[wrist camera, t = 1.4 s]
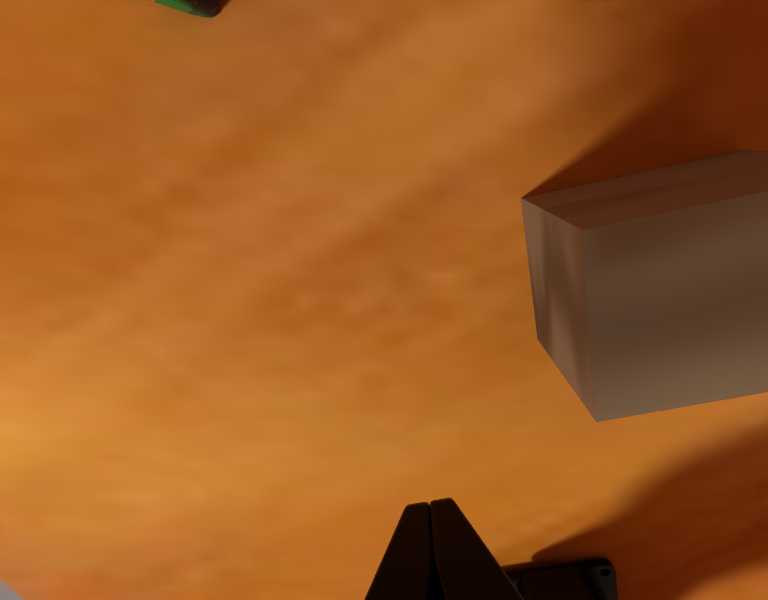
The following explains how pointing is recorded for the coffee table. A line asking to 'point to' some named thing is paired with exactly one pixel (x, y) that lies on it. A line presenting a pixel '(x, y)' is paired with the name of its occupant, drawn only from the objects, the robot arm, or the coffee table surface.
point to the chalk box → (193, 6)
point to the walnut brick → (655, 284)
